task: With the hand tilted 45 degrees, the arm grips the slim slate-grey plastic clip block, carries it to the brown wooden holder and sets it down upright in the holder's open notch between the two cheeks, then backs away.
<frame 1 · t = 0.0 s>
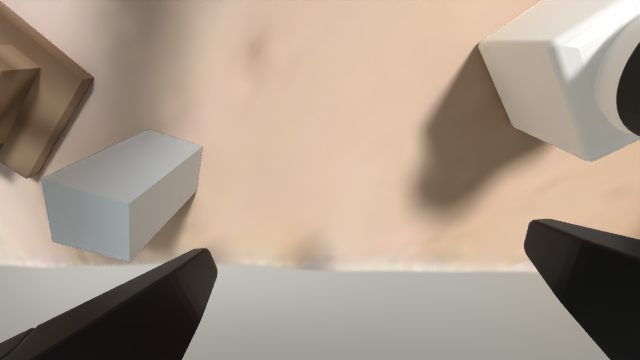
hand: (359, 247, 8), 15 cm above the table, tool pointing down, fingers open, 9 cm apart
clip block: (173, 161, 23), on the table
medicine bottle: (544, 56, 18), on the table
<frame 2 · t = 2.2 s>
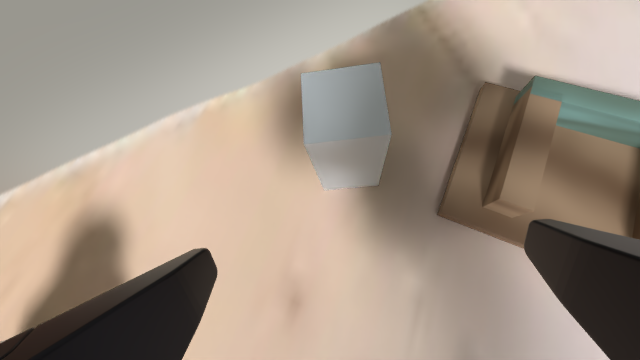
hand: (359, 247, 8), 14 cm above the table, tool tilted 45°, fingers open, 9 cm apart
clip block: (348, 162, 23), on the table
brown wooden holder: (569, 183, 20), on the table
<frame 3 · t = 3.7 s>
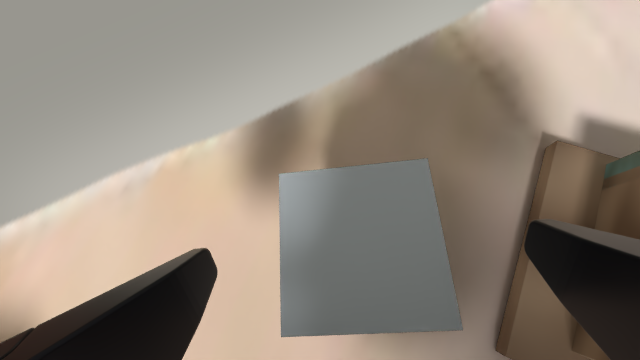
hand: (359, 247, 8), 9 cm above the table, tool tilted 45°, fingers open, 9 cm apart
clip block: (358, 255, 16), on the table
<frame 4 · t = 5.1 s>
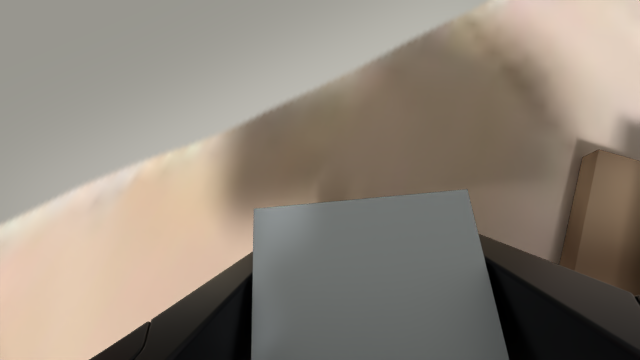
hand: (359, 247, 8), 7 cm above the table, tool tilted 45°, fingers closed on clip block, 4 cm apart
clip block: (361, 285, 13), on the table, touching gripper
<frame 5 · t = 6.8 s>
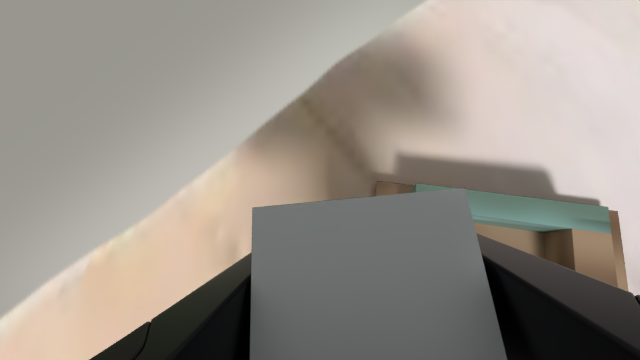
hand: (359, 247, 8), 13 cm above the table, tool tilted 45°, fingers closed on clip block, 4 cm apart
clip block: (361, 284, 13), point 7 cm above the table, touching gripper
brown wooden holder: (481, 280, 19), on the table
when the fingers open (9 cm above the table, at t = 8.8 s): clip block drops 1 cm, resting on brown wooden holder.
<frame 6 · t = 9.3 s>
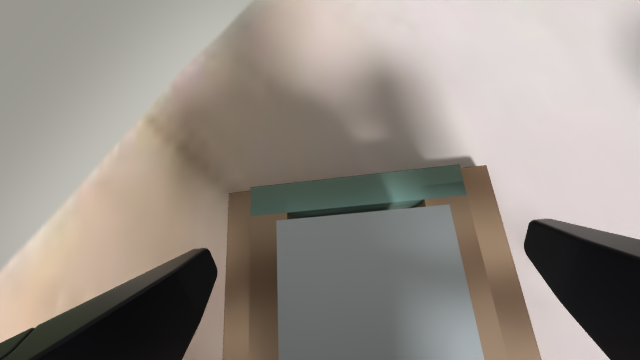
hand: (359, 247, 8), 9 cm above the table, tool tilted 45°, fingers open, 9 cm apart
clip block: (364, 283, 15), point 1 cm above the table, touching brown wooden holder
brown wooden holder: (362, 281, 16), on the table
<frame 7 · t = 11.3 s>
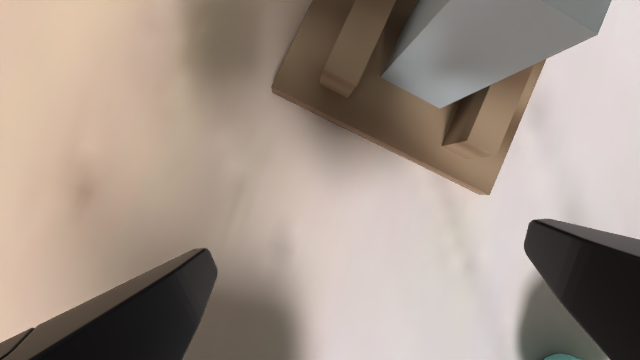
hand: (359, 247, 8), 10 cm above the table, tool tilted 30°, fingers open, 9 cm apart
clip block: (424, 62, 17), point 1 cm above the table, touching brown wooden holder
brown wooden holder: (415, 67, 18), on the table
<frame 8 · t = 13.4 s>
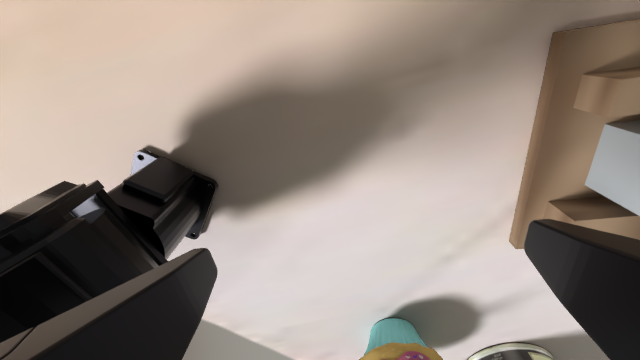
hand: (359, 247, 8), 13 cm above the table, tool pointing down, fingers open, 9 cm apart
clip block: (630, 152, 18), point 1 cm above the table, touching brown wooden holder
cupcake: (392, 330, 30), on the table
brown wooden holder: (618, 145, 19), on the table
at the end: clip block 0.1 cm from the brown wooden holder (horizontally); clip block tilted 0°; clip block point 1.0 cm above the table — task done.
